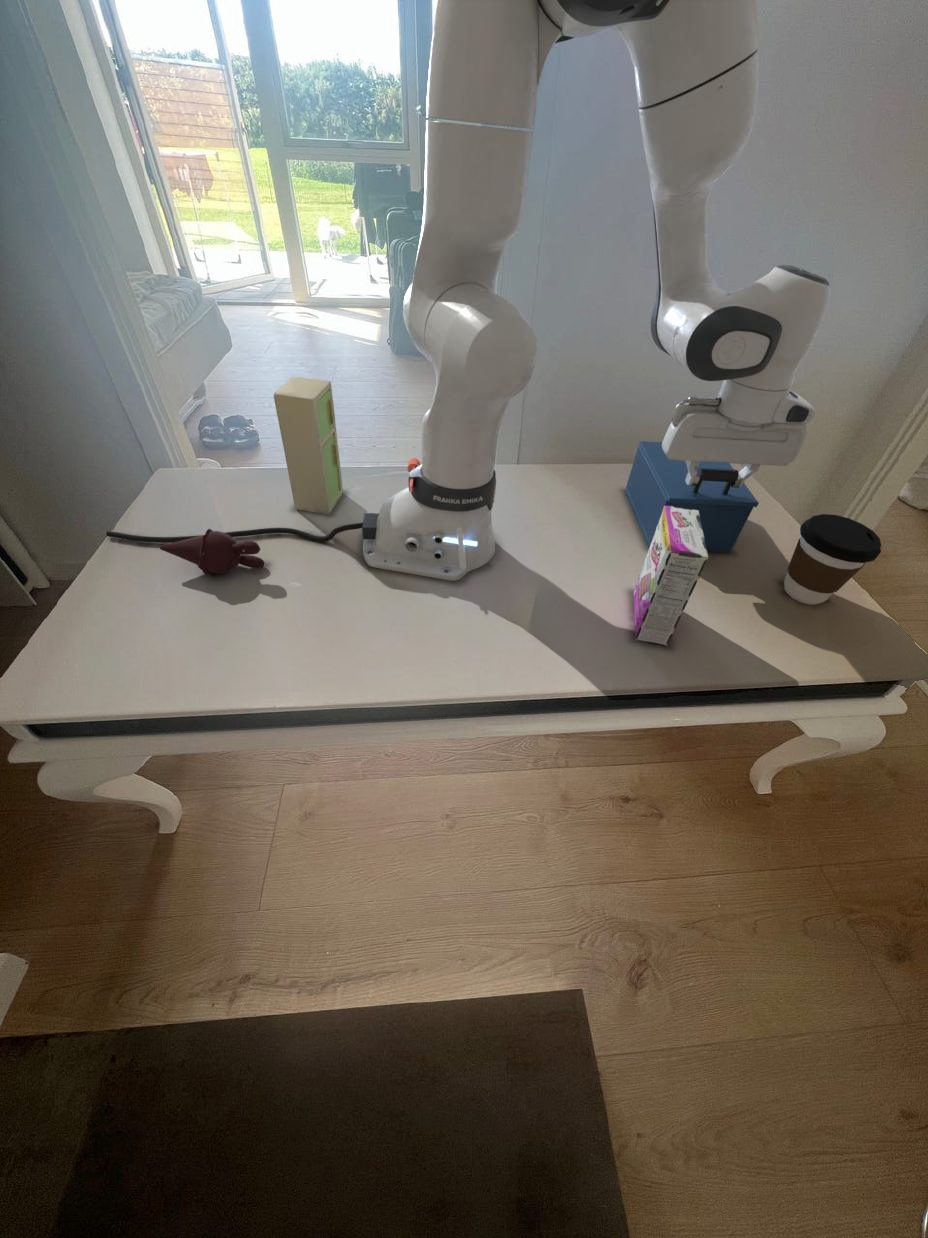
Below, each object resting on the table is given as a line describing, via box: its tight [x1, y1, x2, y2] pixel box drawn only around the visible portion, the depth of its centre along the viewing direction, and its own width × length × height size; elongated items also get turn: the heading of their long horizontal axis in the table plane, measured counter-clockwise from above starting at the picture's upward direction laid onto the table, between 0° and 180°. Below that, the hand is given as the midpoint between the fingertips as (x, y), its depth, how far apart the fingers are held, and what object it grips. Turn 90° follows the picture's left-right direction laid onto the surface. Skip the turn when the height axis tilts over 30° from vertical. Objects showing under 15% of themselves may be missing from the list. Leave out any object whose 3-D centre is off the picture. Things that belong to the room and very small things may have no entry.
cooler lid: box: [638, 440, 760, 508], centre depth 91 cm, size 21×15×5 cm
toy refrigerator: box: [273, 375, 344, 515], centre depth 90 cm, size 8×7×21 cm
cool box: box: [624, 445, 754, 554], centre depth 96 cm, size 20×15×10 cm
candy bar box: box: [632, 506, 709, 647], centre depth 74 cm, size 11×5×16 cm, turn 168°
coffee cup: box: [783, 513, 882, 606], centre depth 82 cm, size 11×11×12 cm
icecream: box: [159, 528, 265, 576], centre depth 80 cm, size 7×7×15 cm
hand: (713, 484), depth 86 cm, fingers closed on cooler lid, 6 cm apart
